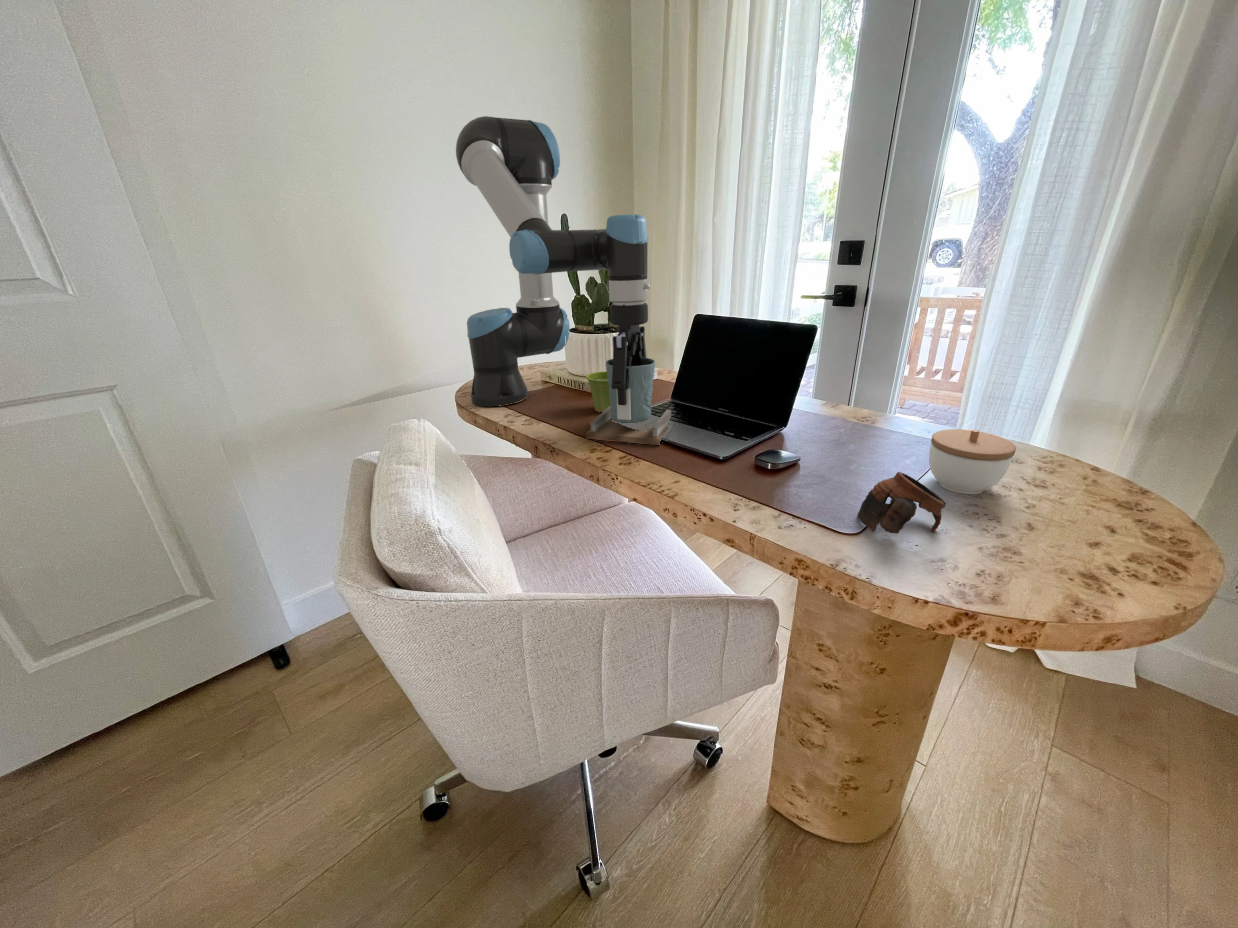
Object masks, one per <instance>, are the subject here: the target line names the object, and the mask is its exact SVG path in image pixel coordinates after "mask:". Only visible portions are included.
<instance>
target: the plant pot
mask: <svg viewBox="0 0 1238 928" xmlns="http://www.w3.org/2000/svg"><path fill="white" fill-rule="evenodd" d="M585 378H586V380H587V381H588V385H589V386H590V391H591V395H592V396H591V397H592V403H593V407H594V408H595V409H597V410H600V411H605V410H606V409H607V408H608V407H609V406H610V403H611V400H610V397H609V384H608V378H607V370H606V371H595V372H590V373H589V374H586V376H585ZM595 409H594V410H595Z"/></svg>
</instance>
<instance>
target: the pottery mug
mask: <svg viewBox="0 0 1238 928" xmlns="http://www.w3.org/2000/svg"><path fill="white" fill-rule="evenodd" d="M888 498H890V502H889V503H887V500H888ZM917 503H918V507H917ZM946 505H947V503H946V502H945V501H944V499H942V498H941V497H940V496H939V495H938V494H937V493H935V492H934V491H933V490H931V489H930V488H928V487H927V486H925V484H922V483H921V482H920V481H918V480H916V479H915V478H913V477H912V476H910V475H908V474H906V473H904V472H901V471H897V472H896V474H895V475H894V476H892V477H891V478H887V479H883V480H881V481H879V482H877V483H876V484H874V485H873V488H871V489H870V491H869V492H868V494H867V495H866V496H865V499H864V500H863V501H862V502H861V505H860V508H859V510H858V512H857V516H858V519H859V520H860V521H861V523H862V524H863V525H864V526H866V528H868V529H869V530H870V531H872V532H876V529H877V526H879V524H880V527H881V529H883V531H885V532H886V533H891V534H899V533H900V531H901V530H902V529H903V528H904V527H905V525H906V524H907V523H908V522H910V520H911V519H912V518H913V517H914V516H915V515H916V512H917V511H916V510H917V509H918V508H919V509H923V510H925V511H926V512H928V513H931V515H932V516H933V518H934V521H935V522H934V523H933V525H932V527H931V528H930V532H931V533H935V532H936V530H937V529H939V526H940V525H941V523H942V522H941V521H942V517H943V515H942V510H943V508H945V507H946Z"/></svg>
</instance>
